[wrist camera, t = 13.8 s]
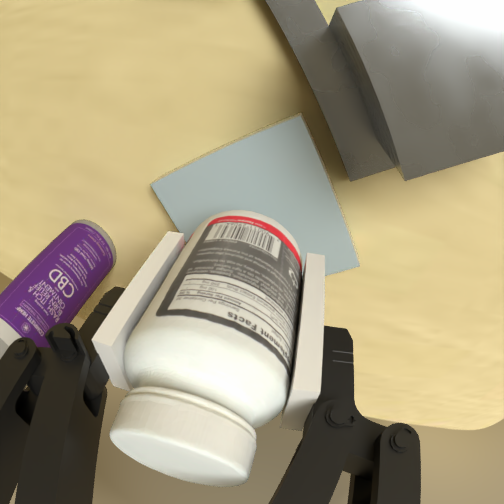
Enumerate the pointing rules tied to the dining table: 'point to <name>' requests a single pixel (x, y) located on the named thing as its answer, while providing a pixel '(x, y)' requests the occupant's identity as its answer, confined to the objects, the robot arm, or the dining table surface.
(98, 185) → the dining table surface
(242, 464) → the pill bottle
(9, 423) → the robot arm
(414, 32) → the housing
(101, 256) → the container
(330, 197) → the pad
